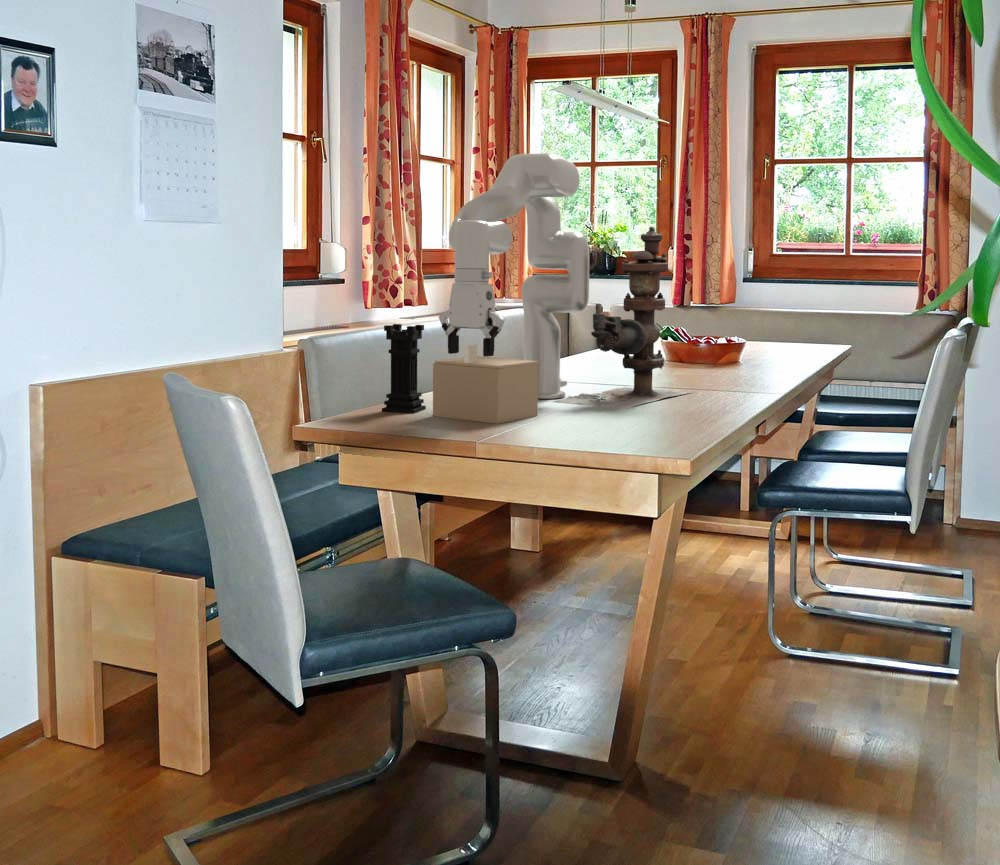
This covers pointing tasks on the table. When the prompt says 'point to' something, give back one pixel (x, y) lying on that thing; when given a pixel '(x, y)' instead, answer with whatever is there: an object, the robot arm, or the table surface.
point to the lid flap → (483, 360)
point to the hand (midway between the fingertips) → (470, 354)
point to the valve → (633, 331)
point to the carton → (485, 392)
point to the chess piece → (403, 369)
